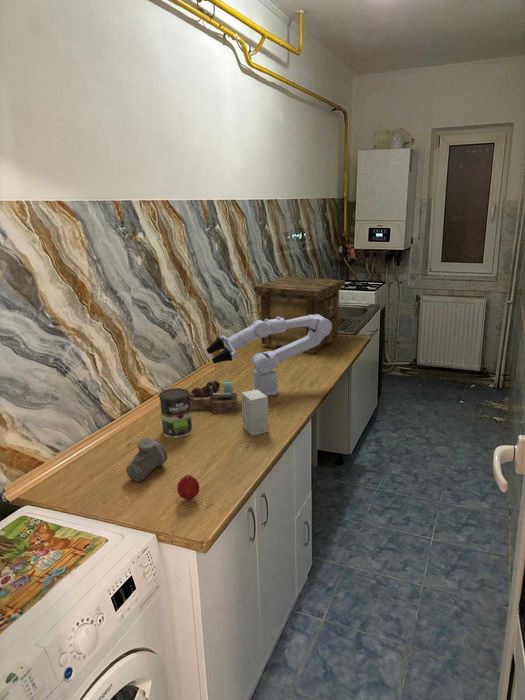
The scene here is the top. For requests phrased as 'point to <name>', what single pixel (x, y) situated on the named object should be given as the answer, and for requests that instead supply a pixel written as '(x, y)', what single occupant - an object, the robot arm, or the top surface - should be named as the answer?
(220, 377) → the top surface
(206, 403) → the mount
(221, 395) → the lock bar
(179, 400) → the coffee can
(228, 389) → the dowel
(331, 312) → the crate
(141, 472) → the pipe fitting
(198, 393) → the bolt
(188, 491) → the onion
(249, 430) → the small box
